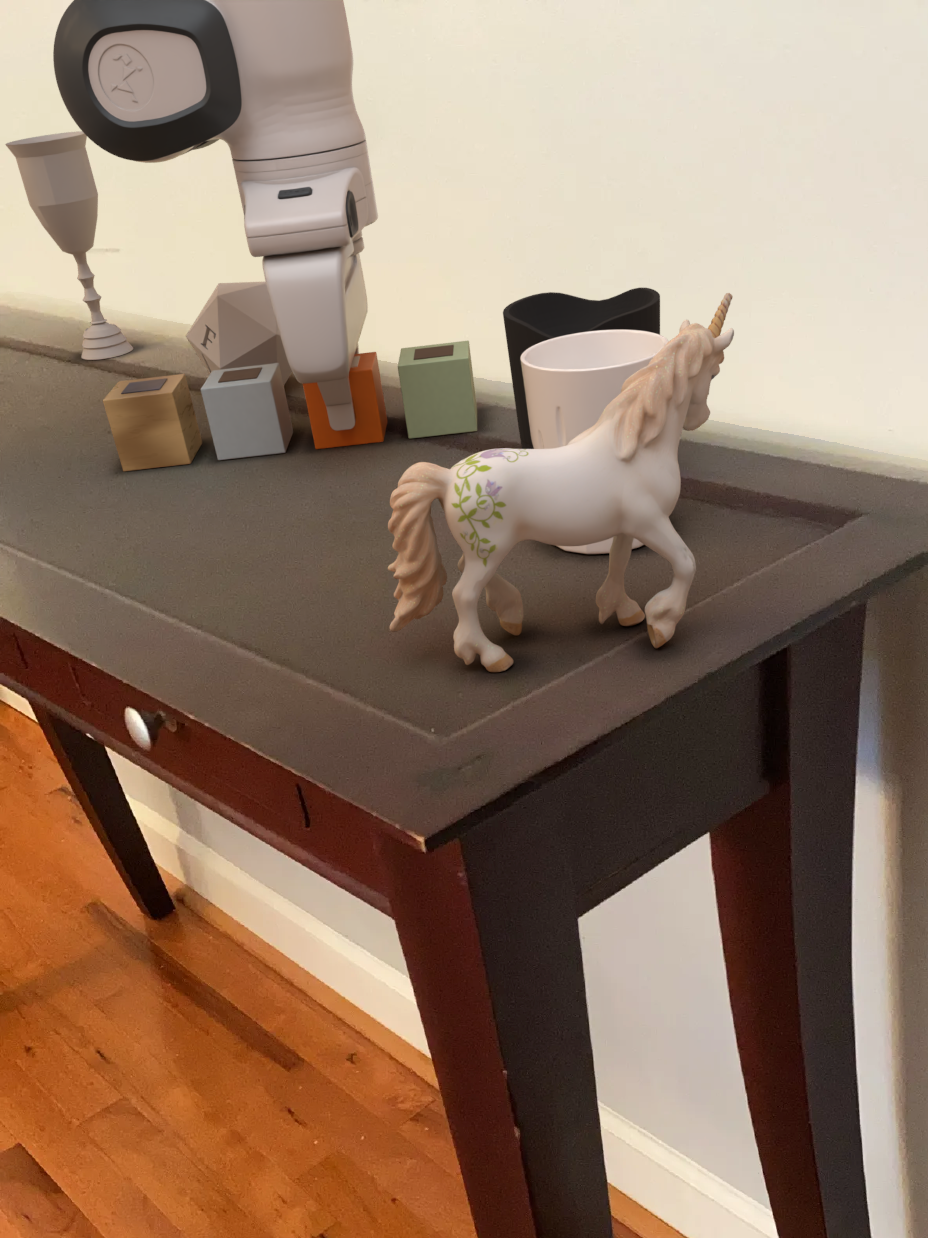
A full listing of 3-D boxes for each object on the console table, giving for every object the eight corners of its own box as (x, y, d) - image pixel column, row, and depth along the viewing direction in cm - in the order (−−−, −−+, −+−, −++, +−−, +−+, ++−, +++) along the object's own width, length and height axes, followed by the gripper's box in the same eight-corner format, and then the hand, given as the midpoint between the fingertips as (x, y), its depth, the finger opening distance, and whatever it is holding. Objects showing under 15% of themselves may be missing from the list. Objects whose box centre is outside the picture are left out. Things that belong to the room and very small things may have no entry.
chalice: (125, 339, 128) (69, 130, 117) (156, 347, 124) (100, 131, 113) (58, 357, 125) (-7, 144, 114) (87, 366, 120) (22, 145, 109)
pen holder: (575, 508, 77) (562, 331, 71) (492, 474, 83) (473, 310, 77) (695, 467, 81) (692, 295, 74) (607, 438, 87) (597, 277, 81)
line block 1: (123, 471, 92) (102, 399, 89) (137, 450, 96) (118, 380, 93) (190, 463, 92) (171, 391, 89) (202, 442, 96) (184, 372, 93)
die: (212, 391, 111) (148, 309, 102) (286, 318, 110) (228, 230, 101) (266, 442, 107) (205, 363, 98) (342, 367, 107) (288, 281, 98)
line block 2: (217, 460, 92) (199, 387, 89) (228, 439, 96) (211, 369, 93) (285, 453, 92) (270, 379, 89) (293, 432, 96) (278, 361, 93)
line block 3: (408, 438, 92) (397, 364, 89) (411, 418, 96) (400, 347, 92) (477, 431, 91) (468, 356, 88) (477, 411, 95) (468, 339, 92)
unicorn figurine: (807, 610, 62) (818, 317, 54) (442, 720, 57) (393, 415, 49) (730, 564, 68) (730, 291, 60) (390, 661, 63) (338, 377, 55)
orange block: (315, 449, 92) (300, 376, 89) (322, 429, 96) (308, 357, 93) (383, 442, 92) (371, 367, 89) (387, 421, 96) (376, 350, 93)
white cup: (511, 549, 73) (491, 365, 67) (583, 501, 78) (570, 326, 72) (631, 567, 69) (621, 374, 63) (698, 516, 74) (695, 332, 68)
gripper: (280, 182, 93) (319, 381, 101) (239, 232, 77) (289, 463, 85) (366, 172, 93) (397, 371, 101) (342, 219, 76) (382, 452, 85)
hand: (348, 414), depth 93 cm, fingers closed on orange block, 5 cm apart
